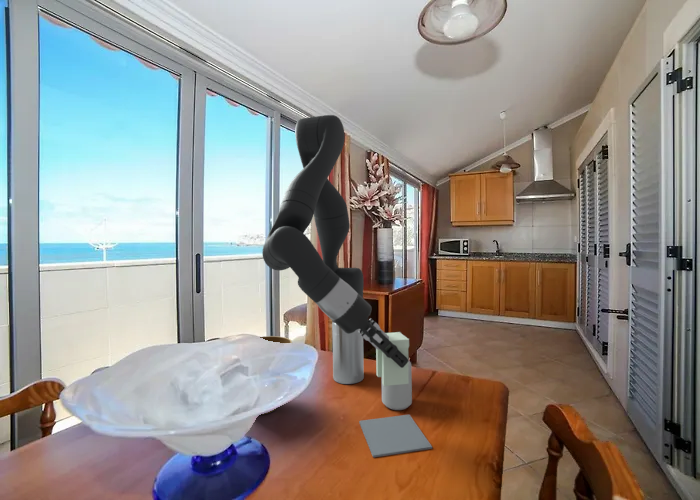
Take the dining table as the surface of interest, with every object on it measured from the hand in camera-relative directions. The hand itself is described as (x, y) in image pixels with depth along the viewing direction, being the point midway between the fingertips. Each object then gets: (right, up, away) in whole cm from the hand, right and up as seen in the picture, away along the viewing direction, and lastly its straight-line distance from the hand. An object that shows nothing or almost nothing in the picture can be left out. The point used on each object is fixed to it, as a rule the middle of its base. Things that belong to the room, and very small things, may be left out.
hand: (399, 358), depth 67 cm
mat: (-1, -16, 0) cm, 16 cm away
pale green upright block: (-2, -4, 0) cm, 5 cm away
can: (+1, -16, +13) cm, 21 cm away
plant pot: (-32, -17, +12) cm, 38 cm away
